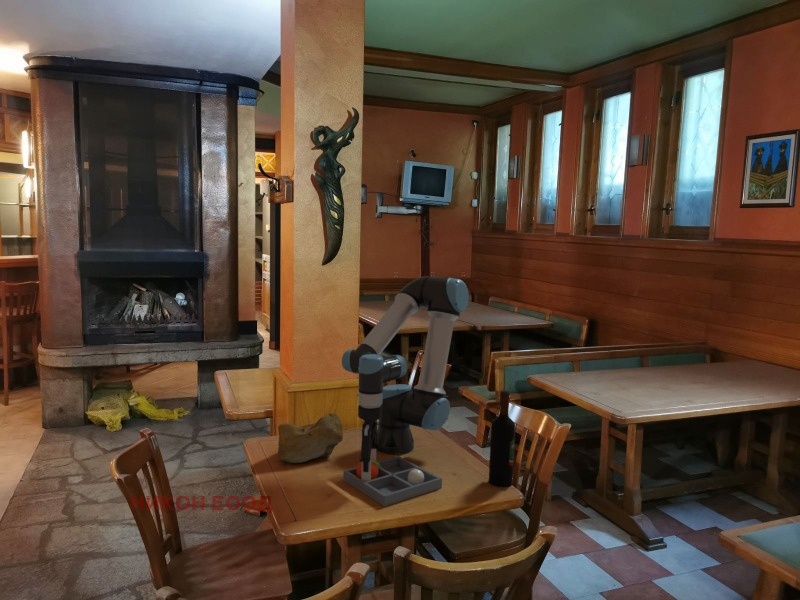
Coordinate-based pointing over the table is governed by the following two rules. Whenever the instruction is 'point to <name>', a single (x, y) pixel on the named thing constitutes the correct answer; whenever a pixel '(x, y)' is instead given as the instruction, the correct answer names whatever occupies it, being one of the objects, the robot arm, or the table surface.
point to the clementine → (373, 470)
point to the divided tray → (393, 481)
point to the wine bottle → (502, 446)
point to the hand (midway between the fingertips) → (368, 474)
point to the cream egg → (415, 477)
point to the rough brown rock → (309, 439)
